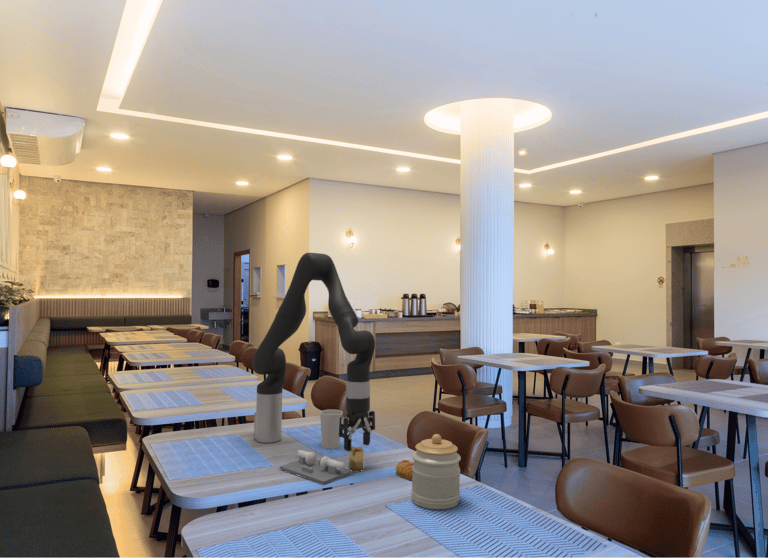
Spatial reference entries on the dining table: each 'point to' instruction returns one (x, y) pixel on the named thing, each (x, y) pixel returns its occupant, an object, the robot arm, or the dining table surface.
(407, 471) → the pastry
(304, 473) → the shaft rig
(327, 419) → the cup
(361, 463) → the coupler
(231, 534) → the dining table surface
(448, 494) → the jar
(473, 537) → the dining table surface
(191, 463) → the dining table surface
